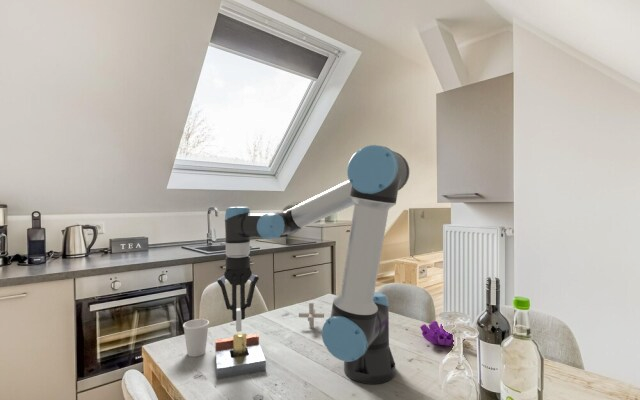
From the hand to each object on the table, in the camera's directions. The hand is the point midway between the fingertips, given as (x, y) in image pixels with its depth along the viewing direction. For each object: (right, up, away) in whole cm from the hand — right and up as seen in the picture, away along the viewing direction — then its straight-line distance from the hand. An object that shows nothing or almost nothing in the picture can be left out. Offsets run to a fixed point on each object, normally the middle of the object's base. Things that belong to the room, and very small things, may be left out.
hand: (238, 329), depth 105 cm
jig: (0, -10, 0) cm, 10 cm away
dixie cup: (-16, -11, +7) cm, 20 cm away
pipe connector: (+22, -10, +28) cm, 37 cm away
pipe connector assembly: (+68, -10, +12) cm, 70 cm away
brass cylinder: (0, -10, 0) cm, 10 cm away
